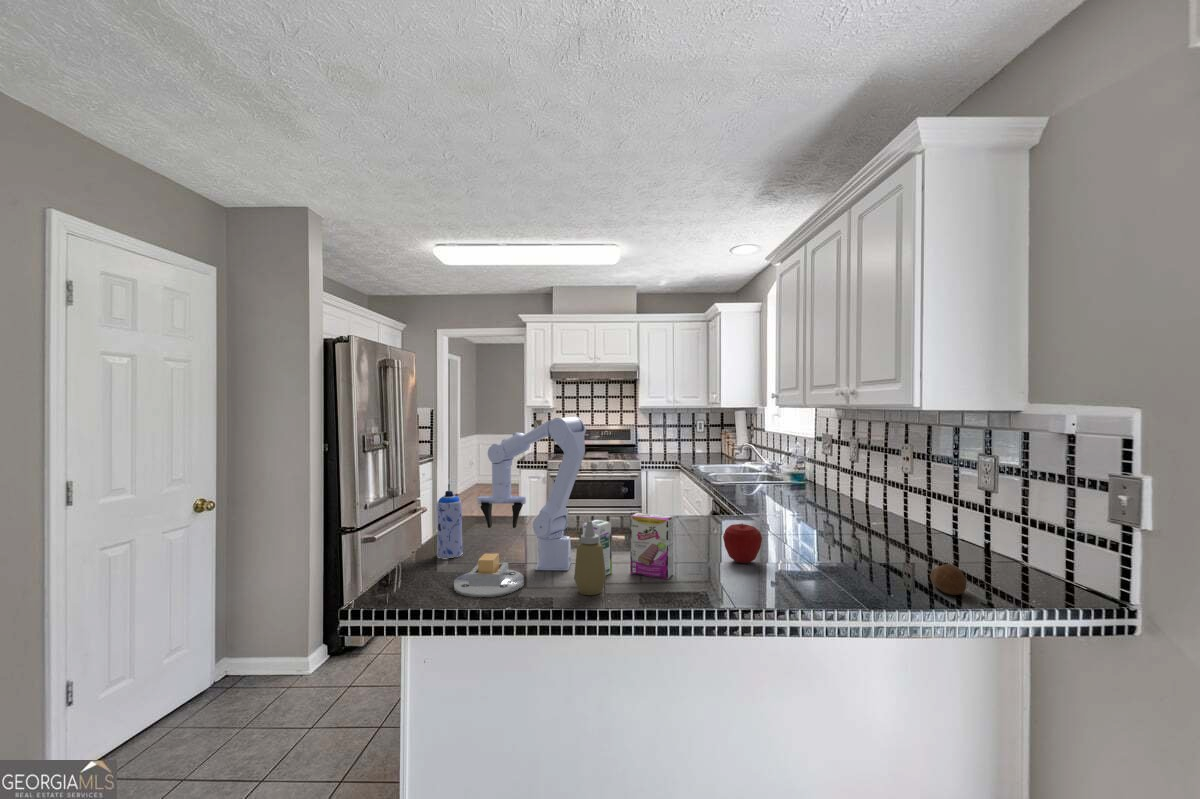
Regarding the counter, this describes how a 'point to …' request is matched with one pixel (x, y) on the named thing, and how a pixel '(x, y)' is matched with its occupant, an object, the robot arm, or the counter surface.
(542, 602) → the counter surface
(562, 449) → the robot arm
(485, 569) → the tan rectangular block
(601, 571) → the squeeze bottle
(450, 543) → the aerosol can
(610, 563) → the syrup box
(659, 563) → the candy bar box
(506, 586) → the gray round plate
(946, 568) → the potato
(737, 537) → the apple
